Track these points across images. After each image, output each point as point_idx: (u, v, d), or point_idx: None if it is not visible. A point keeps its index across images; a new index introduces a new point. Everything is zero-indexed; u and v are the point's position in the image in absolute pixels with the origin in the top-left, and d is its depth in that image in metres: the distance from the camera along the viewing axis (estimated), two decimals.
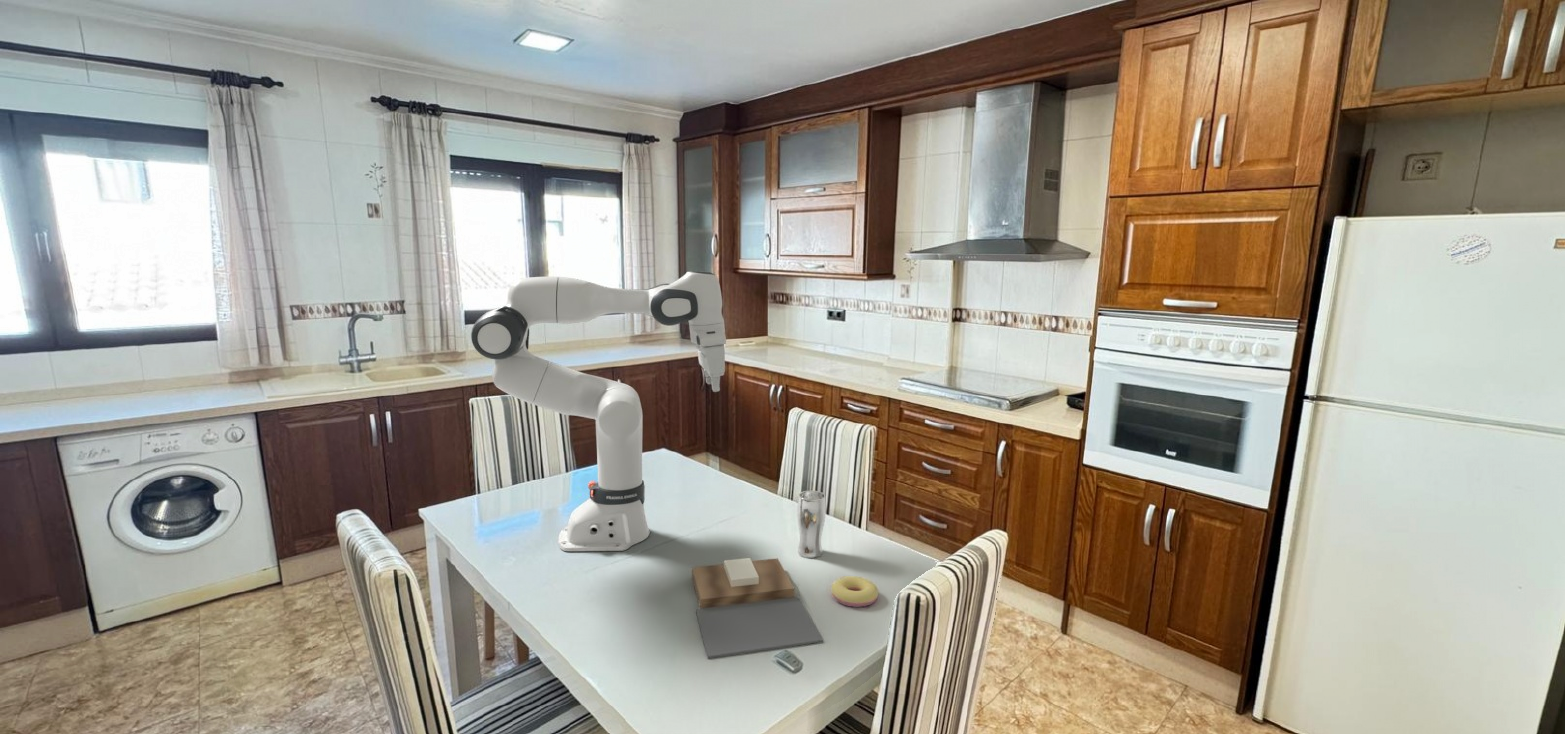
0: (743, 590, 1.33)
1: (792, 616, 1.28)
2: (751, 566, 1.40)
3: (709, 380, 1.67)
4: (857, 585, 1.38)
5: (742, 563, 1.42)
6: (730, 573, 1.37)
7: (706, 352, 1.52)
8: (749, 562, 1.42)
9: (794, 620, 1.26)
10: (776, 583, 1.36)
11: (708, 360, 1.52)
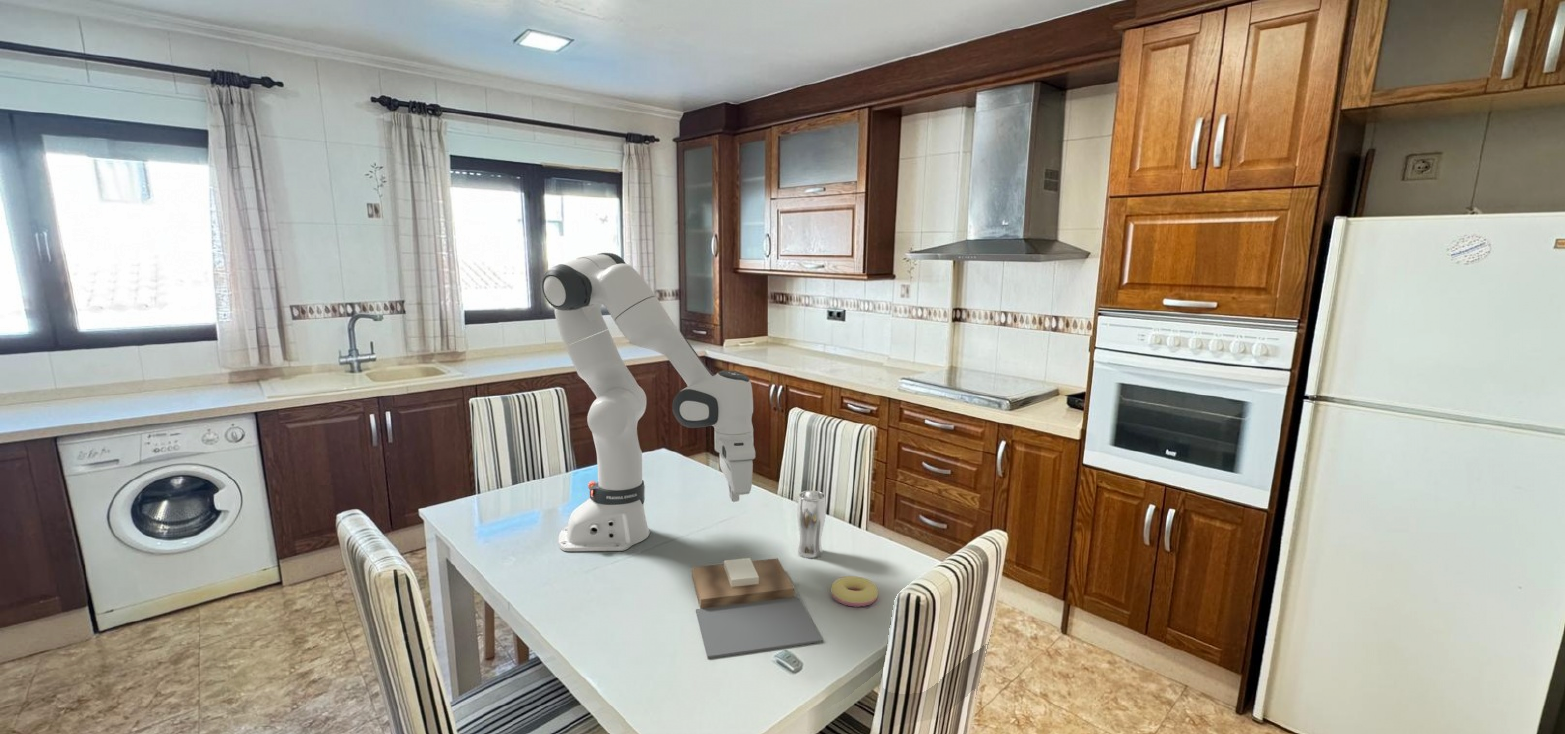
0: (743, 590, 1.33)
1: (792, 616, 1.28)
2: (751, 566, 1.40)
3: None
4: (856, 585, 1.38)
5: (742, 563, 1.42)
6: (730, 573, 1.37)
7: (732, 468, 1.36)
8: (749, 562, 1.42)
9: (794, 620, 1.26)
10: (776, 583, 1.36)
11: (734, 477, 1.35)
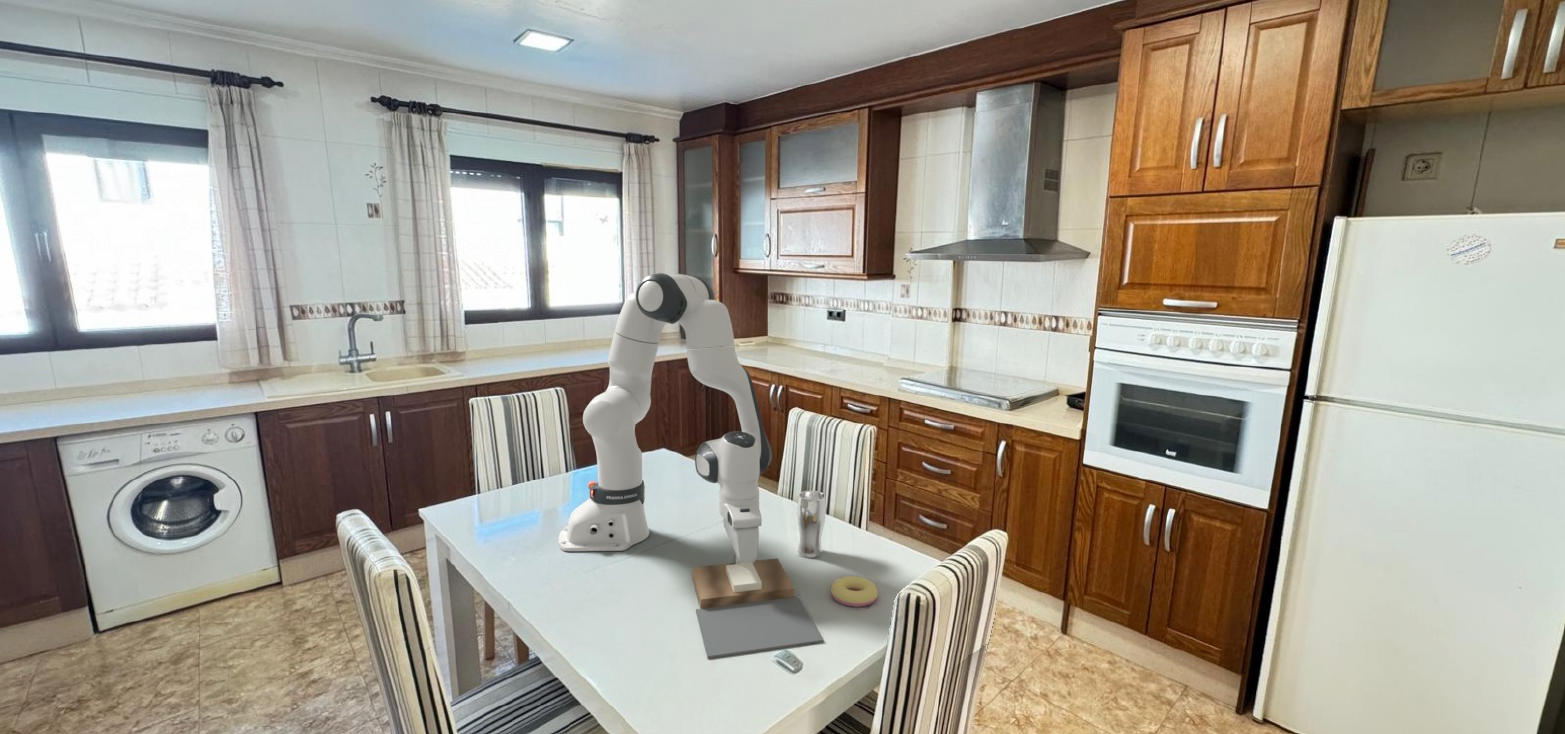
0: None
1: (792, 616, 1.28)
2: (754, 571, 1.38)
3: None
4: (856, 585, 1.38)
5: (745, 567, 1.40)
6: (732, 578, 1.35)
7: (738, 536, 1.32)
8: (751, 567, 1.40)
9: (794, 620, 1.26)
10: (776, 583, 1.36)
11: (739, 545, 1.32)
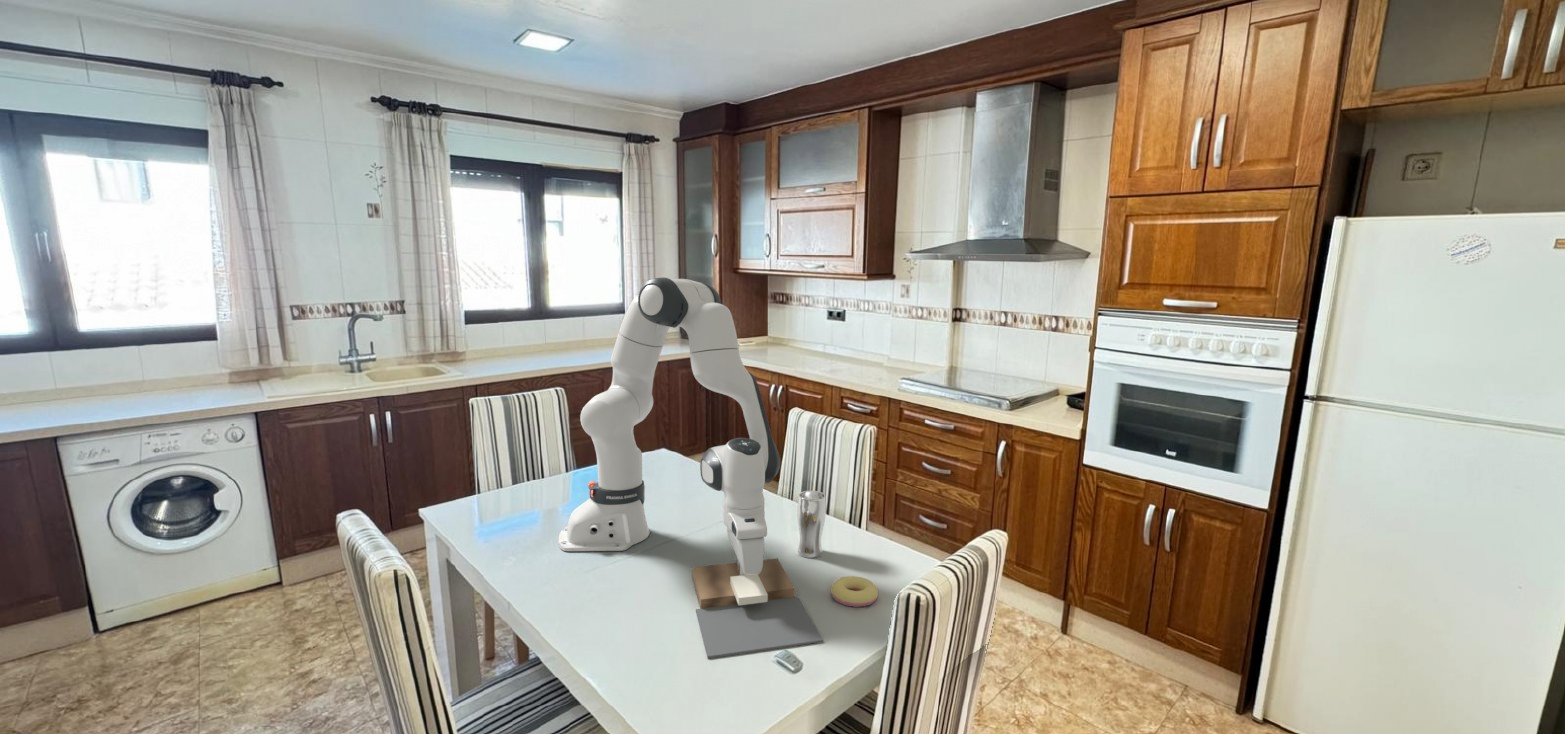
0: None
1: (792, 616, 1.28)
2: (759, 583, 1.33)
3: None
4: (856, 585, 1.38)
5: (750, 579, 1.35)
6: (737, 590, 1.30)
7: (743, 547, 1.27)
8: (757, 578, 1.35)
9: (794, 620, 1.26)
10: (776, 583, 1.36)
11: (744, 557, 1.27)
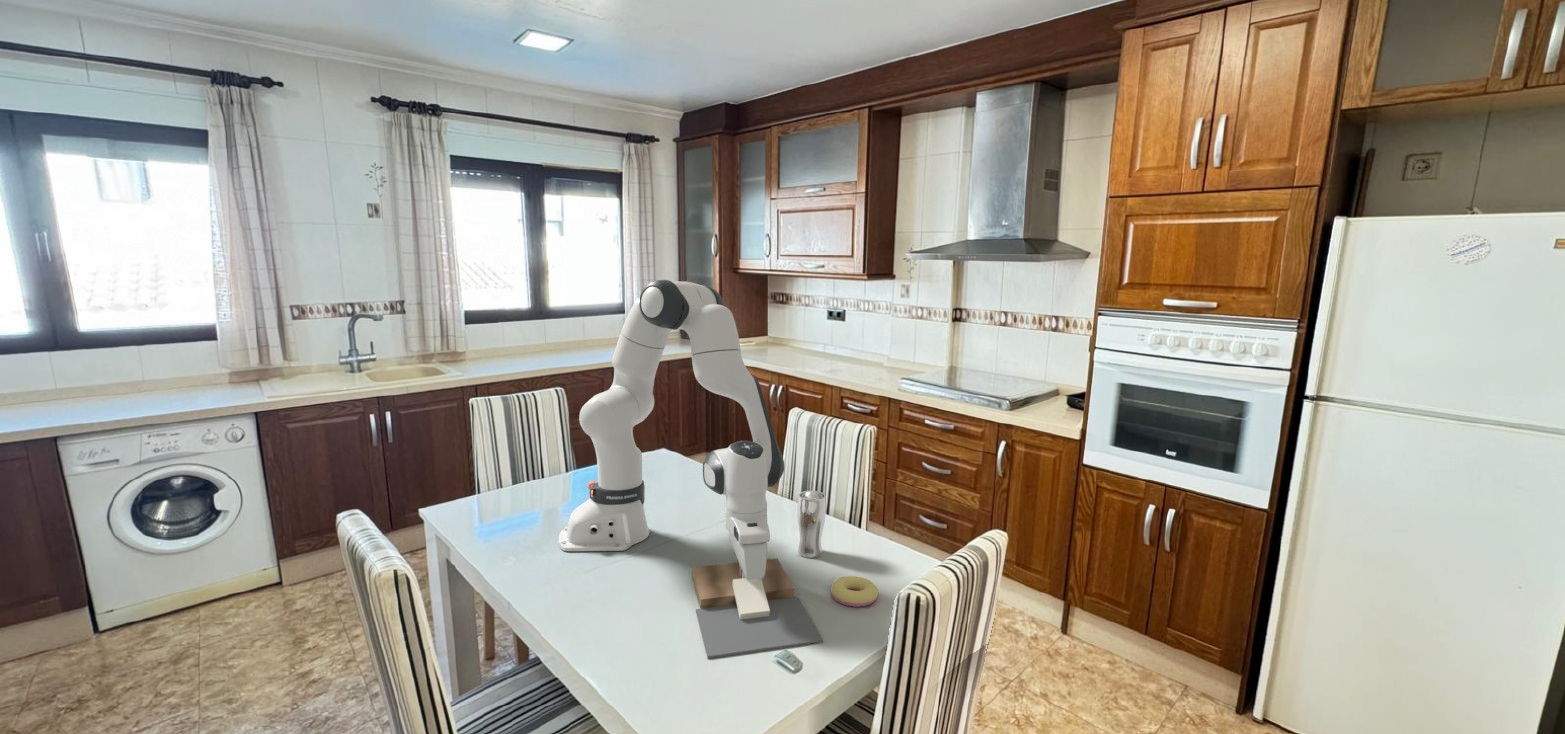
0: None
1: (792, 616, 1.28)
2: (762, 591, 1.31)
3: None
4: (856, 585, 1.38)
5: (752, 585, 1.32)
6: (739, 602, 1.28)
7: (745, 552, 1.25)
8: (760, 584, 1.32)
9: (794, 620, 1.26)
10: (776, 583, 1.36)
11: (747, 562, 1.25)
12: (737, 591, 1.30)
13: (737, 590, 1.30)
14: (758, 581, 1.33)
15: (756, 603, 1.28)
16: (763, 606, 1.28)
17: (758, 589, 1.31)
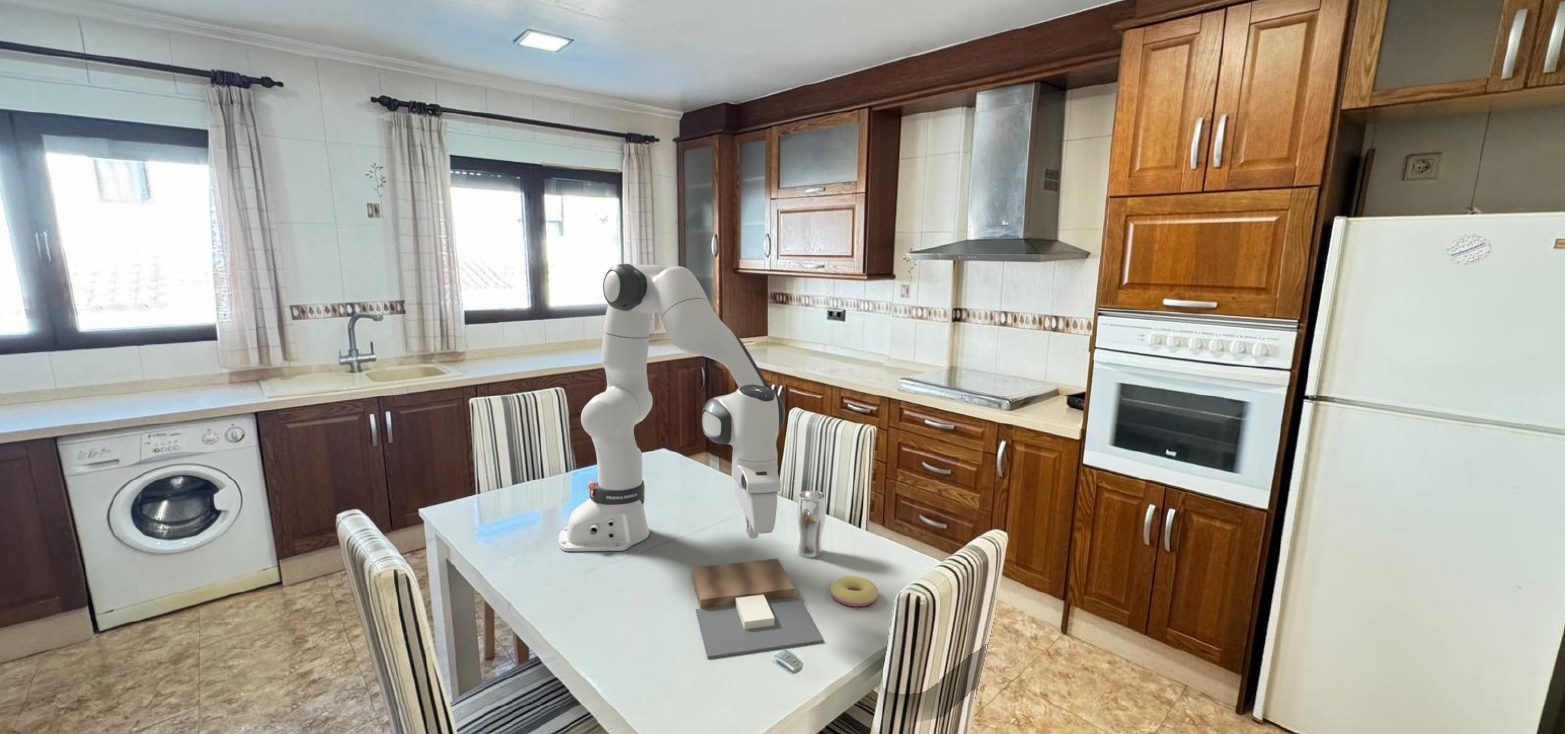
0: (743, 590, 1.33)
1: (792, 616, 1.28)
2: (765, 605, 1.29)
3: None
4: (856, 585, 1.38)
5: (755, 600, 1.30)
6: (743, 613, 1.25)
7: (753, 502, 1.14)
8: (763, 600, 1.30)
9: (794, 620, 1.26)
10: (776, 583, 1.36)
11: (755, 513, 1.14)
12: (740, 606, 1.28)
13: (740, 605, 1.28)
14: (761, 598, 1.31)
15: (760, 613, 1.25)
16: (767, 615, 1.25)
17: (761, 603, 1.29)
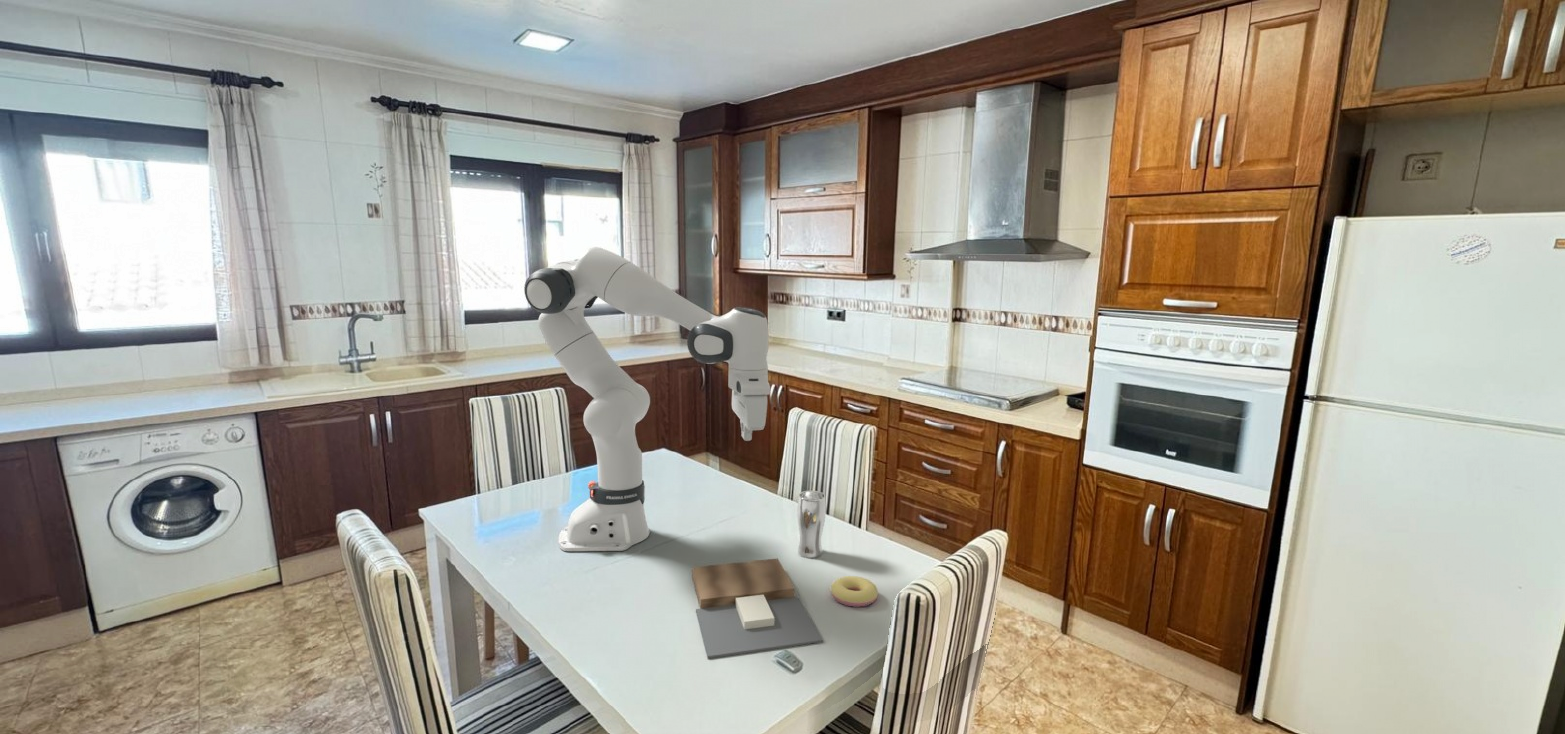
0: (743, 590, 1.33)
1: (792, 616, 1.28)
2: (765, 605, 1.29)
3: None
4: (856, 585, 1.38)
5: (755, 600, 1.30)
6: (743, 613, 1.25)
7: (747, 402, 1.34)
8: (763, 600, 1.30)
9: (794, 620, 1.26)
10: (776, 583, 1.36)
11: (748, 411, 1.34)
12: (740, 606, 1.28)
13: (740, 605, 1.28)
14: (761, 598, 1.31)
15: (760, 613, 1.25)
16: (767, 615, 1.25)
17: (761, 603, 1.29)
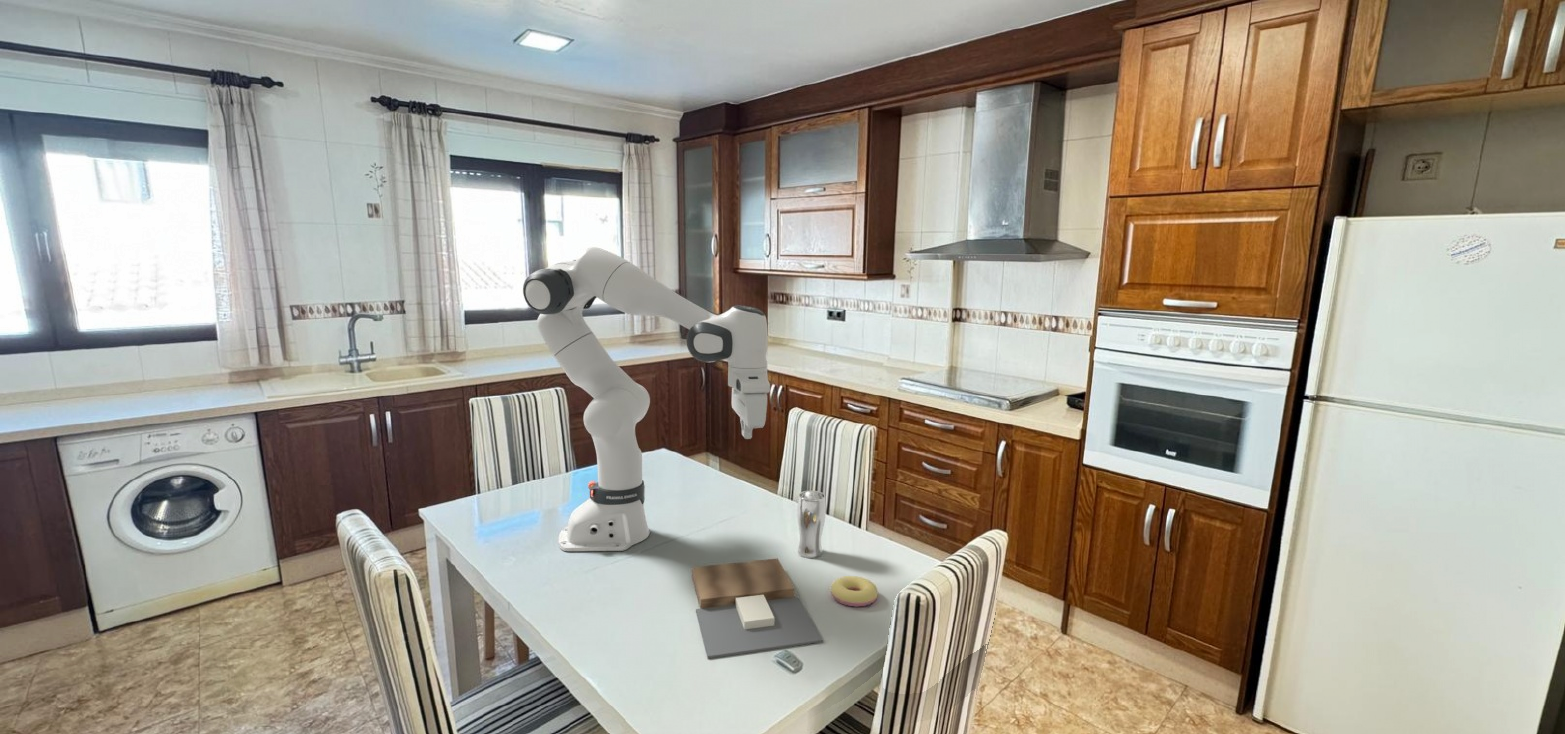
0: (743, 590, 1.33)
1: (792, 616, 1.28)
2: (765, 605, 1.29)
3: None
4: (856, 585, 1.38)
5: (755, 600, 1.30)
6: (743, 613, 1.25)
7: (747, 400, 1.34)
8: (763, 600, 1.30)
9: (794, 620, 1.26)
10: (776, 583, 1.36)
11: (748, 409, 1.34)
12: (740, 606, 1.28)
13: (740, 605, 1.28)
14: (761, 598, 1.31)
15: (760, 613, 1.25)
16: (767, 615, 1.25)
17: (761, 603, 1.29)
